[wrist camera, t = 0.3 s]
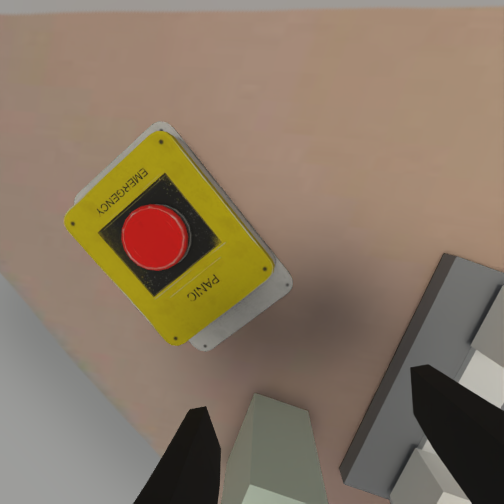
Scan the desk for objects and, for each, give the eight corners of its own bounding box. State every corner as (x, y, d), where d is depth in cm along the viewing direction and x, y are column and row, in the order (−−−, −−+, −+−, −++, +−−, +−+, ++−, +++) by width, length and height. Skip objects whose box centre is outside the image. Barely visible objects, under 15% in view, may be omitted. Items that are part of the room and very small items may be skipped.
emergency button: (135, 88, 14) (307, 303, 15) (166, 117, 18) (297, 282, 20) (19, 201, 15) (188, 389, 16) (74, 202, 19) (204, 352, 21)
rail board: (464, 511, 21) (518, 592, 17) (339, 468, 21) (359, 538, 17) (590, 305, 18) (698, 336, 14) (444, 253, 18) (504, 267, 14)
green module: (277, 479, 22) (283, 608, 15) (227, 462, 22) (209, 582, 15) (308, 410, 21) (330, 514, 14) (254, 392, 21) (249, 487, 14)
